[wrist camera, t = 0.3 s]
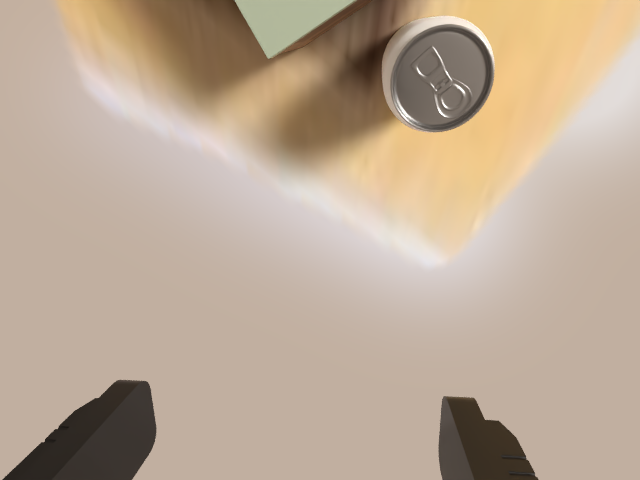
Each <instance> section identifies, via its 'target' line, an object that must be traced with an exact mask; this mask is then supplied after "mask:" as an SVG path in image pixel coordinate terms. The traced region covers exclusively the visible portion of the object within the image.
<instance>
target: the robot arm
mask: <svg viewBox="0 0 640 480" xmlns="http://www.w3.org/2000/svg"><path fill="white" fill-rule="evenodd" d="M155 436H156V423H155V416H154V409H153V403H152V396H151V389H150V386H149V384H148V382H146V381H132V380H118V381H116V382H115V383H113V384H112V385H111V386H110V387H109V388H108V389H107V390H106V391H105V392H104V393H103V394H102V395H101V396H100V397H99V398H95V399H94V400H92V401H90V402H89V403H87V404H85V405H84V406H82V407H80V408H79V409H77V410H75V411H74V412H73V413H72V414H71V415H70V416H69V417H68V418H67V419H66V420H65V421H64V422H63V423H62V424H60V426H59V428H58V429H55V430H54V431H53V432H52V433H51V434H50V435H49V436H48V437H47V438H46V439H45V442H44V443H43V442H42V443H41V444H39V445H38V446H37V447H36V448H35V449H34V450H33V451H32V452H31V453H30V454H29V455H28V456H27V457H26V458H25V459H24V460H23V461H22V462H21V463H20V464H19V465H17V466H16V467H15V468H14V469H13V470H12V471H11V472H10V473H9V474H8V475H7V476H6V477H5V478H4V479H3V480H132V479H133V477H134V476H135V474H136V473H137V471H138V470H139V468H140V467H141V465H142V464H143V462H144V461H145V459H146V458H147V456H148V455H149V453H150V452H151V450H152V447H153V445H154V442H155ZM439 462H440V470H441V475H442V479H443V480H538V478H537V477H535V472H534V471H533V469H532V467H531V465H530V463H529V461H528V460H526V455H525V454H524V452H523V450H522V448H521V446H520V444H519V442H518V440H517V438H516V437H515V436H514V435H513V434H512V433H511V432H510V431H509V430H508V429H507V428H506V427H505V426H504V425H502V424H501V423H500V422H499V421H493V420H485V419H484V417H483V415H482V413H481V411H480V408H479V406H478V404H477V402H476V400H475V399H474V398H466V397H446V396H444V397H443V399H442V408H441V423H440V435H439Z"/></svg>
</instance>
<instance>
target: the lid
mask: <svg viewBox="0 0 640 480" xmlns="http://www.w3.org/2000/svg"><path fill="white" fill-rule="evenodd" d="M356 1H357V0H235V2H236V4H237V6H238V7H239V9H240V11H241V13H242V14H243V16H244V18H245V20H246V21H247V23H248V25H249V26H250V28H251V30H252V32H253V33H254V35H255V37H256V39H257V40H258V42H259V44H260V46H261V47H262V49H263V51H264V53H265V54H266V56H267V58H268V59H270V58H273V57H275V56H276V55H278V54H279V53H281V52H282V51H284V50H285V49H286V48H288V47H289V46H291V45H292V44H294V43H295V42H297V41H298V40H300V39H301V38H303V37H304V36H306V35H307V34H309V33H310V32H312V31H313V30H314V29H316V28H317V27H319V26H320V25H322V24H323V23H325V22H326V21H328V20H329V19H331V18H332V17H334V16H335V15H337V14H338V13H340V12H341V11H342V10H344V9H345V8H347V7H348V6H350V5H351V4H353V3H354V2H356Z"/></svg>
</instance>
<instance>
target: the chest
mask: <svg viewBox="0 0 640 480" xmlns="http://www.w3.org/2000/svg"><path fill="white" fill-rule="evenodd" d="M371 1H373V0H357V1H356V2H354V3H353V4H351V5H350V6H348V7H347V8H345V9H344V10H342V11H341V12H340V13H338V14H337V15H335V16H334V17H332V18H331V19H329V20H328V21H326V22H325V23H323V24H322V25H320V26H319V27H317V28H316V29H314V30H313V31H312V32H310V33H309V34H307V35H306V36H304V37H303V38H301V39H300V40H298V41H297V42H295V43H294V44H292V45H291V46H289V47H288V48H286V49H285V50H284V51H282V52H281V53H284V52H287V51H291V50H294V49H298V48H301V47H304V46H305V45H307V44H308V43H310V42H311V41H313V40H314V39H316V38H317V37H319V36H320V35H322V34H323V33H325V32H326V31H328V30H329V29H331V28H332V27H334V26H335V25H337V24H338V23H340V22H341V21H343V20H344V19H346V18H347V17H349V16H350V15H352V14H353V13H355V12H356V11H358V10H359V9H361V8H362V7H364V6H365V5H367V4H368V3H370V2H371ZM279 54H280V53H279Z"/></svg>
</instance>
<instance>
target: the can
mask: <svg viewBox="0 0 640 480" xmlns="http://www.w3.org/2000/svg"><path fill="white" fill-rule="evenodd" d="M493 80H494V56H493V52H492V48H491V46H490V44H489V42H488V40H487V38H486V37H485V35H484V34H483V33H482V32H481V30H480V29H478V28H477V27H476V26H475V25H473V24H472V23H470V22H469V21H467V20H464V19H462V18H458V17H453V16H434V17H427V18H422V19H417V20H414V21H412V22H409V23H408V24H406V25H404V26H403V27H401V28H400V29H399V30H398V31H397V32H396V33H395V34H394V35H393V36H392V38H391V39H390V41H389V42H388V44H387V46H386V48H385V51H384V54H383V59H382V84H383V91H384V95H385V99H386V102H387V104H388V106H389V108H390V110H391V111H392V113H393V114H394V115H395V116H396V117H397V118H398V119H399V120H400V121H401V122H402V123H403V124H405V125H406V126H408V127H410V128H412V129H415V130H418V131H422V132H442V131H448V130H451V129H454V128H456V127H459V126H461V125H462V124H464V123H466V122H467V121H469V120H470V119H471V118H472V117H473V116H474V115H475V114H476V113H477V112H478V111H479V110H480V109H481V108H482V106H483V105H484V103H485V102H486V100H487V98H488V96H489V94H490V91H491V88H492V85H493Z"/></svg>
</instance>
